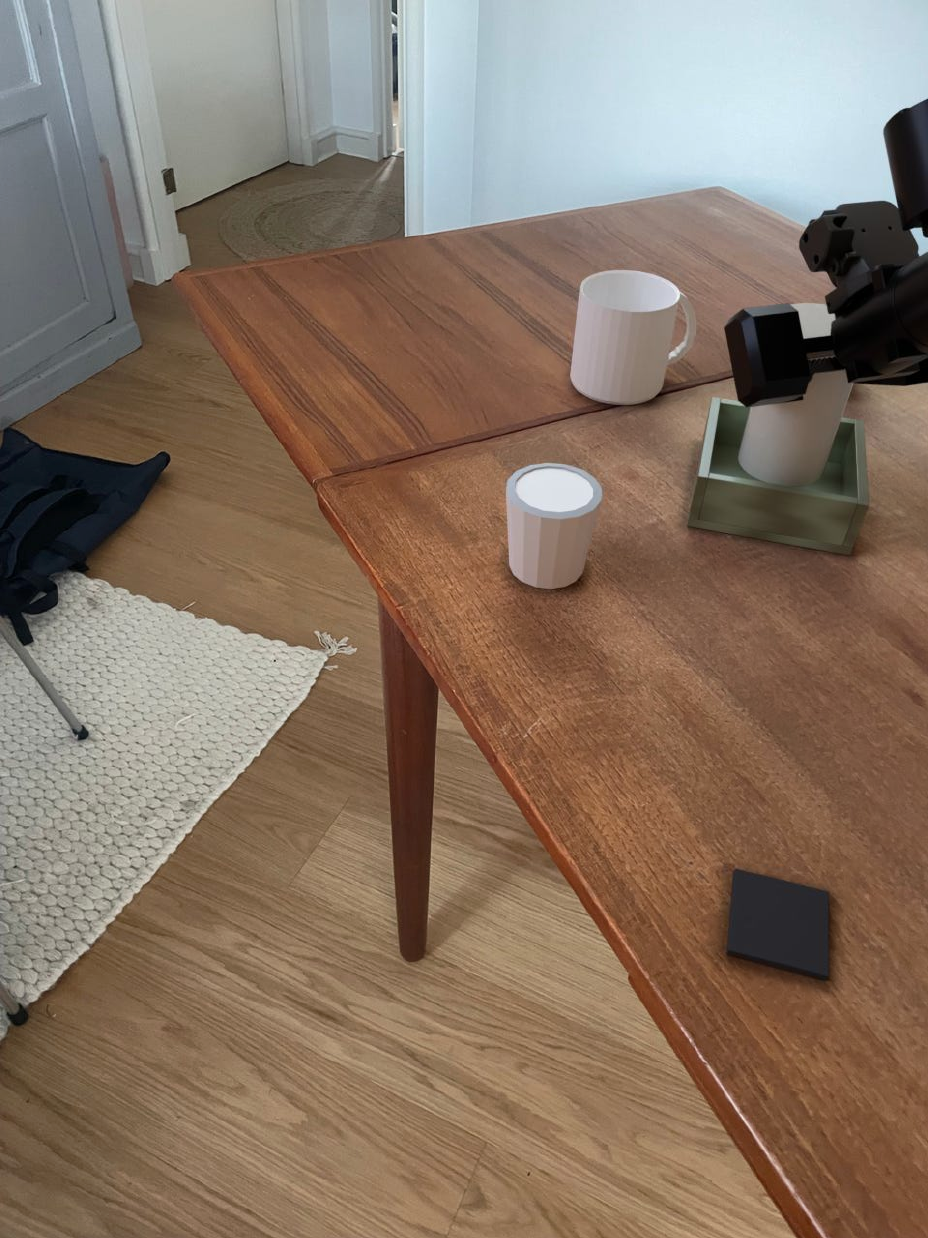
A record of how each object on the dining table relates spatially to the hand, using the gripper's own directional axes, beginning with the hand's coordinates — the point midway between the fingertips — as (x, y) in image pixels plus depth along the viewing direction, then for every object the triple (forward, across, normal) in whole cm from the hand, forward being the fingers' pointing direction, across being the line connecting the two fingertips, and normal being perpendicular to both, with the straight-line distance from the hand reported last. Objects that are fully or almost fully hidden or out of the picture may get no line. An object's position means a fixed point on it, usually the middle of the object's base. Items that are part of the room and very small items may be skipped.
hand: (792, 380), depth 72 cm
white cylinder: (+4, 0, +6) cm, 7 cm away
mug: (+21, +4, -7) cm, 22 cm away
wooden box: (+6, 0, +8) cm, 10 cm away
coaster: (-18, +20, +33) cm, 42 cm away
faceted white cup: (+4, +21, +11) cm, 24 cm away
